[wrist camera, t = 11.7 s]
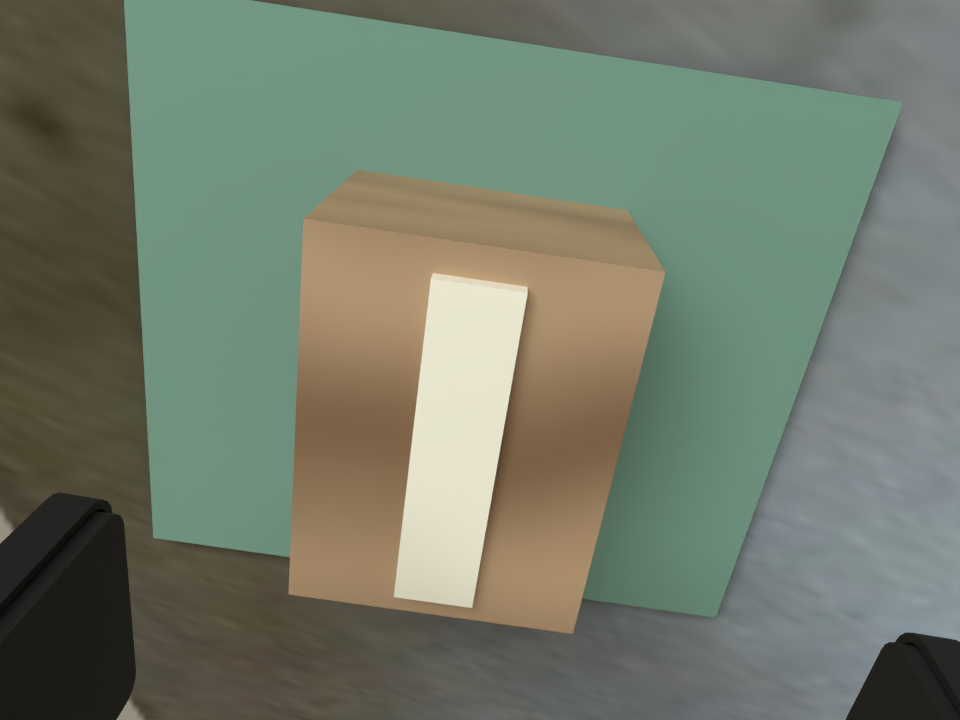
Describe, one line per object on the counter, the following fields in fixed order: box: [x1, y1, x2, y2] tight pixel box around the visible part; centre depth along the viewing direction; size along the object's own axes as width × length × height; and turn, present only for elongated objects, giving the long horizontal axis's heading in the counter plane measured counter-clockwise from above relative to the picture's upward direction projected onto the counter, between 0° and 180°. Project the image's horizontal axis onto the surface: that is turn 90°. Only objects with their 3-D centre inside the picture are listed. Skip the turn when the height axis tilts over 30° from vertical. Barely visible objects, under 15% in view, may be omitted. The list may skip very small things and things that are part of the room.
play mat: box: [124, 0, 903, 618], centre depth 18 cm, size 16×14×1 cm
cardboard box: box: [289, 170, 665, 634], centre depth 16 cm, size 8×6×5 cm
